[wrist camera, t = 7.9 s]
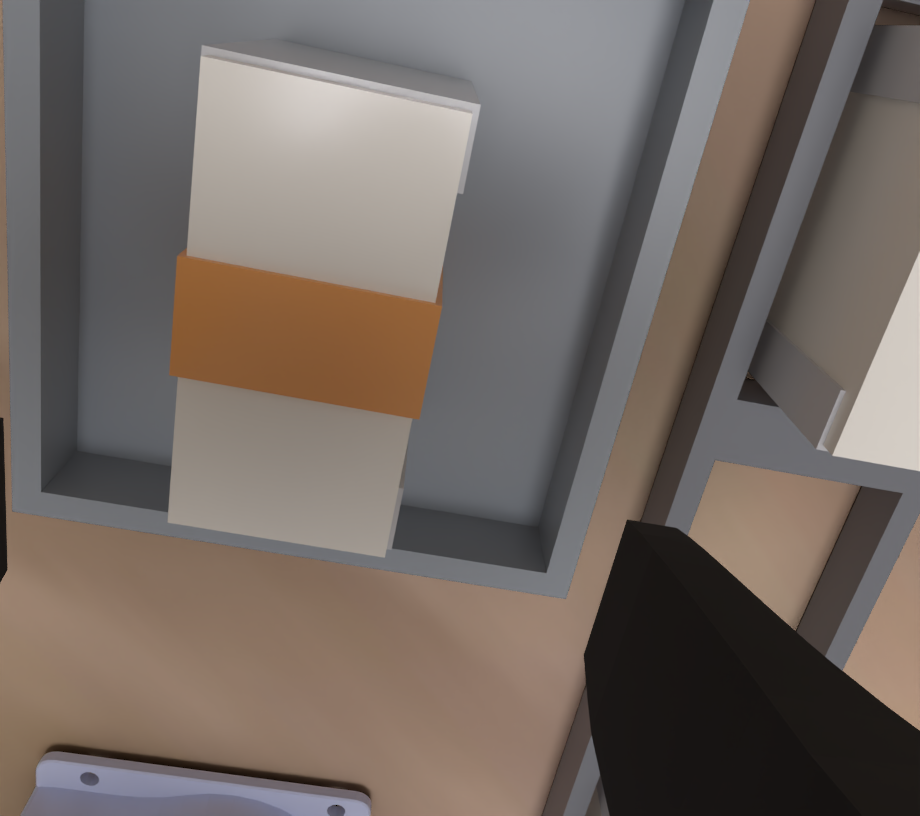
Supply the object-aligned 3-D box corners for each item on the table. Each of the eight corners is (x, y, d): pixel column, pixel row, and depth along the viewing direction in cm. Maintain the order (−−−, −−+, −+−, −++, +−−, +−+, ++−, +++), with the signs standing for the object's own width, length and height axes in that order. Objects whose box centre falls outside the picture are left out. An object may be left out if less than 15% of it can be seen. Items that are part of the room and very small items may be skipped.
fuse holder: (507, 920, 28) (510, 966, 26) (830, -43, 16) (865, -49, 15) (675, 940, 28) (686, 987, 27) (1102, 22, 17) (1160, 22, 15)
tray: (61, 456, 20) (12, 511, 18) (66, -190, 15) (-2, -229, 13) (553, 538, 21) (565, 599, 19) (719, -38, 16) (764, -48, 14)
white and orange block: (243, 382, 19) (159, 529, 13) (279, 38, 16) (191, 45, 11) (406, 411, 19) (389, 566, 14) (470, 79, 16) (482, 108, 11)
